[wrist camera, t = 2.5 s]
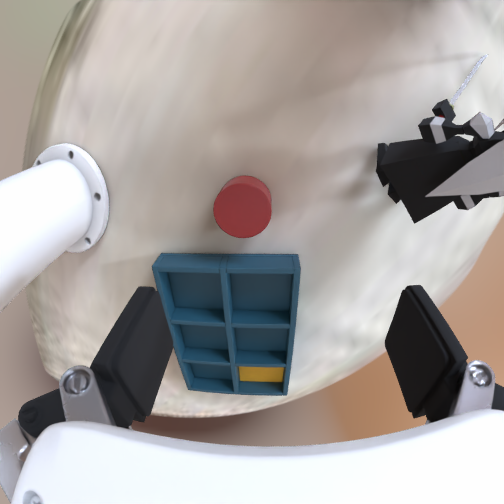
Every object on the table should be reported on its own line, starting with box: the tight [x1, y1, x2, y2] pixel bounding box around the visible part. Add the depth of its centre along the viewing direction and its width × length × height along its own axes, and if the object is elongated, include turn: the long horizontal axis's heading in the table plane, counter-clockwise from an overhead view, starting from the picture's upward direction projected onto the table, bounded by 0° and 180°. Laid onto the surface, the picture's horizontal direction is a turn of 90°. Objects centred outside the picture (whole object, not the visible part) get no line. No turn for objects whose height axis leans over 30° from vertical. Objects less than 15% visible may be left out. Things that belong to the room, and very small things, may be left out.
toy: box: [376, 55, 504, 224], centre depth 16 cm, size 8×20×15 cm
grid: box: [152, 253, 301, 396], centre depth 30 cm, size 14×20×3 cm
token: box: [213, 176, 272, 238], centre depth 22 cm, size 5×5×3 cm
